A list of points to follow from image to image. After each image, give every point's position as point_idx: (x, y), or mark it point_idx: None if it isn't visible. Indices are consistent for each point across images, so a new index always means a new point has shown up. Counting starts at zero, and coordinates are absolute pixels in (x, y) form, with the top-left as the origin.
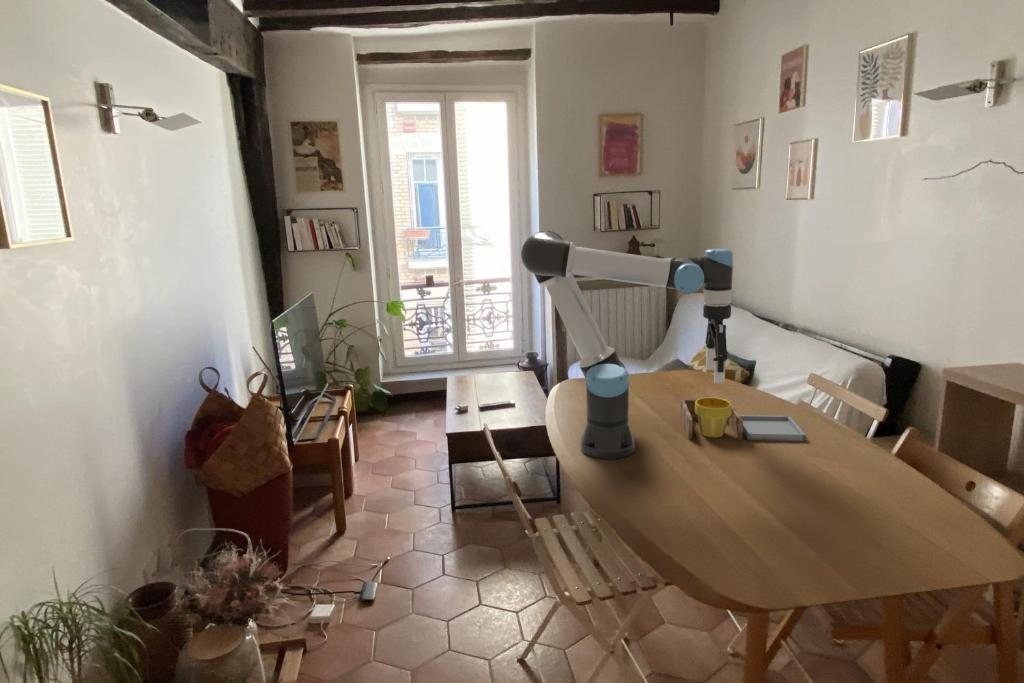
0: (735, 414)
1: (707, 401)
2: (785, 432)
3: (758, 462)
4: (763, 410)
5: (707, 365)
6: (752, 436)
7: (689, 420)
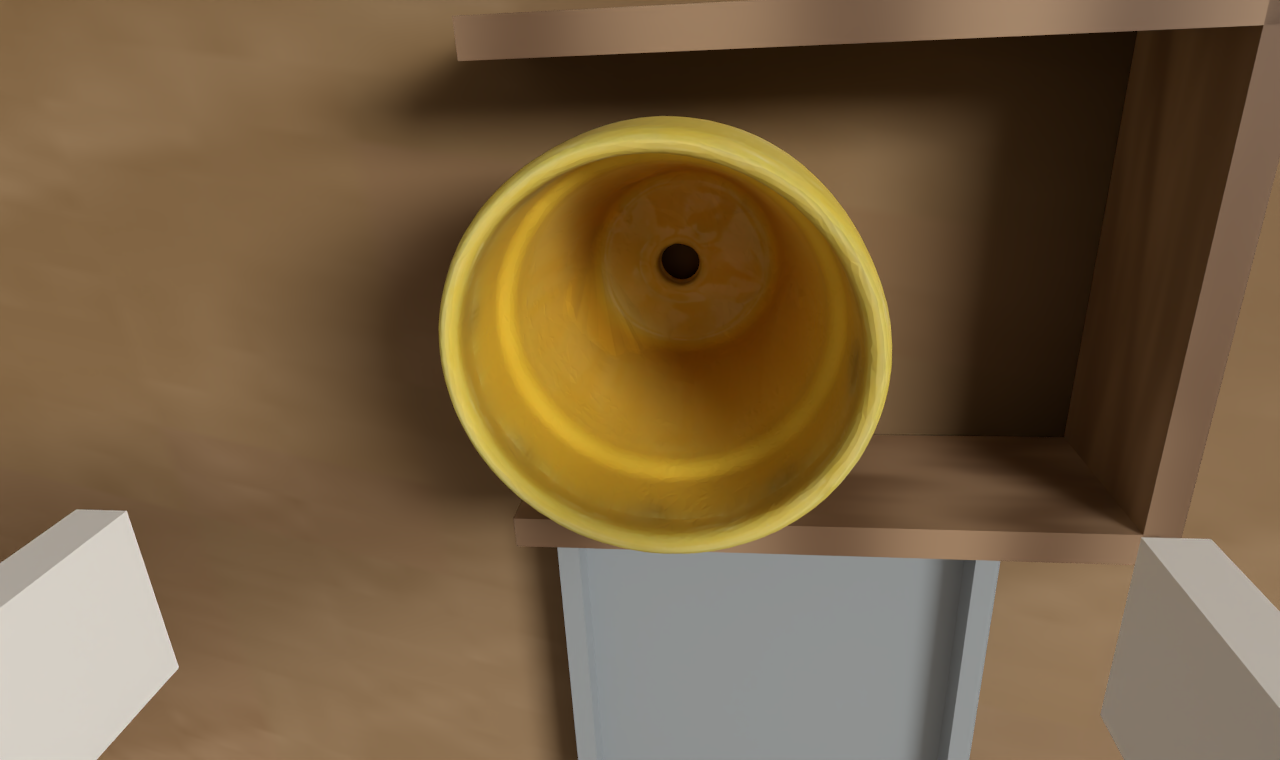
0: None
1: (856, 311)
2: (688, 739)
3: (194, 468)
4: None
5: (1196, 635)
6: None
7: (454, 20)
